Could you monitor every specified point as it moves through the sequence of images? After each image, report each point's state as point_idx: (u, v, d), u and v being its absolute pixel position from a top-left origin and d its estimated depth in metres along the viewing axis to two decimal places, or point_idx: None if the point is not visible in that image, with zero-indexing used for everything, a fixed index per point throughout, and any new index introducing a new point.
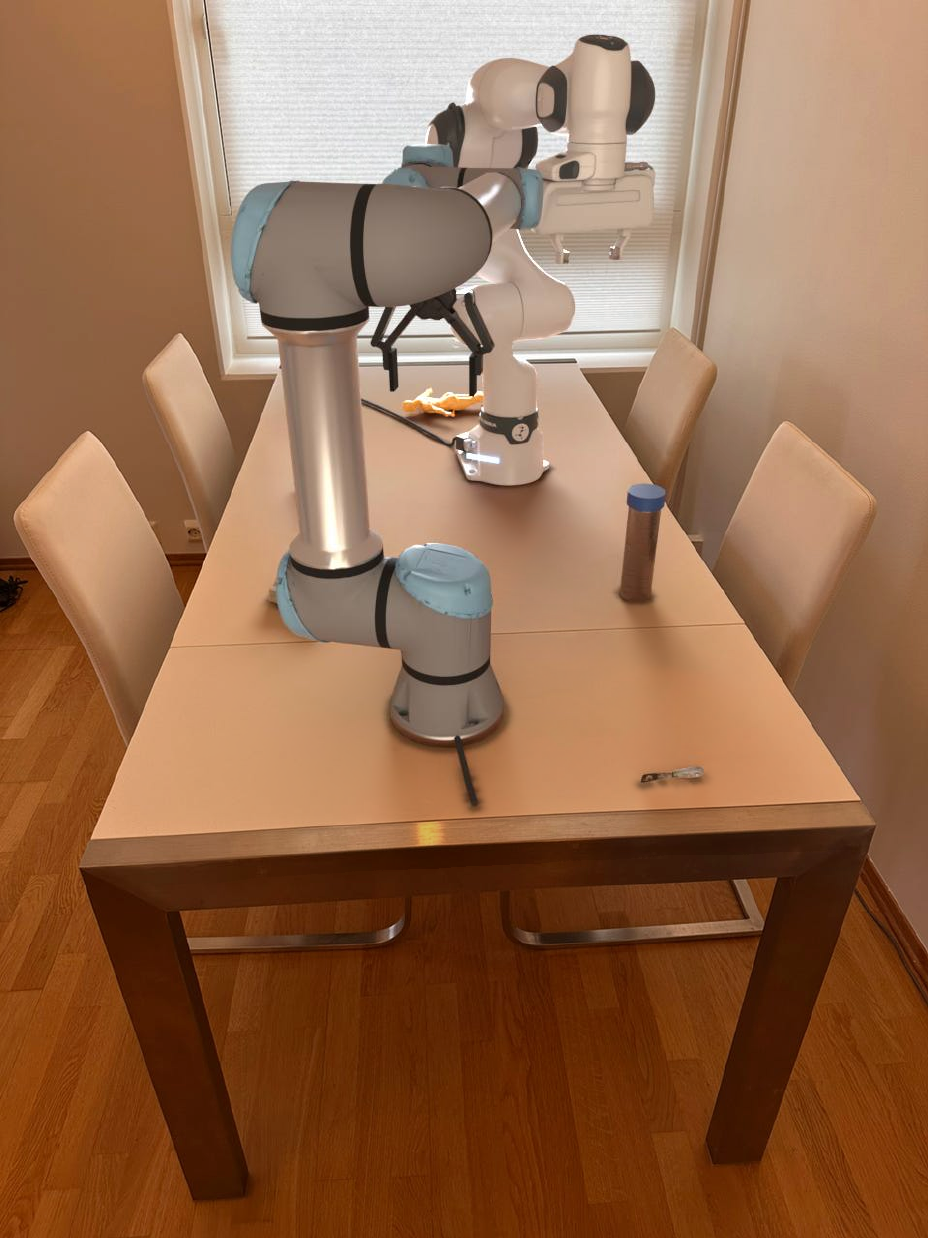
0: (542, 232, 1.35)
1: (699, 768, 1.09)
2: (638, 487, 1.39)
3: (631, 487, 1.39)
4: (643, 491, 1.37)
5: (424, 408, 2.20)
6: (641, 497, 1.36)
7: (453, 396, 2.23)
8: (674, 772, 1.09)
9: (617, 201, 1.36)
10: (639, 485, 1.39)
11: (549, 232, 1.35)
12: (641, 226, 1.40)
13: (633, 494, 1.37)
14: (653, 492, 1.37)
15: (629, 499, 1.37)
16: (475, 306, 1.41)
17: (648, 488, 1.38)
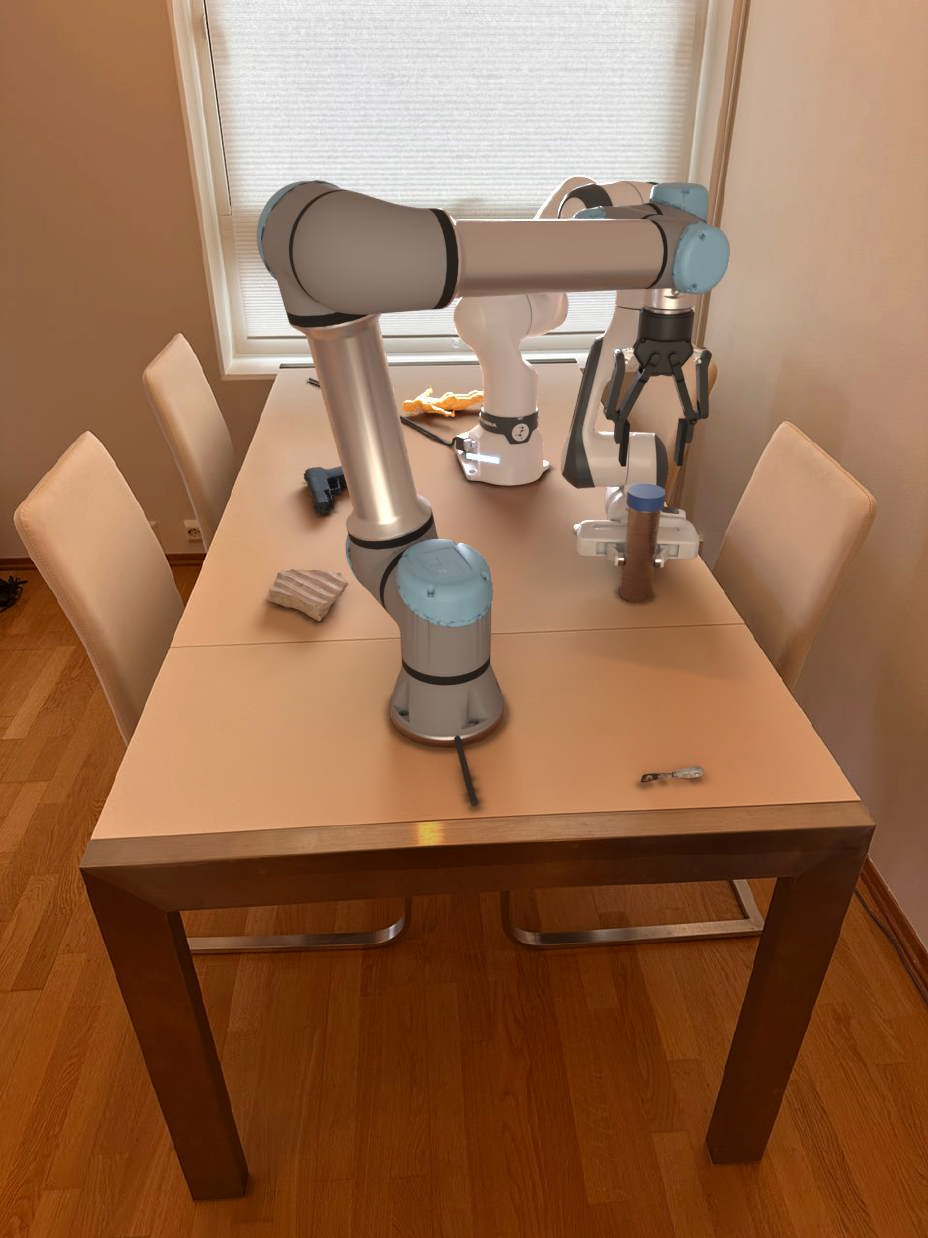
0: (691, 559, 1.48)
1: (699, 768, 1.09)
2: (638, 487, 1.39)
3: (631, 487, 1.39)
4: (643, 491, 1.37)
5: (424, 408, 2.20)
6: (641, 497, 1.36)
7: (453, 396, 2.23)
8: (674, 772, 1.09)
9: None
10: (639, 485, 1.39)
11: (684, 559, 1.48)
12: None
13: (633, 494, 1.37)
14: (653, 492, 1.37)
15: (629, 499, 1.37)
16: (615, 368, 1.27)
17: (648, 488, 1.38)
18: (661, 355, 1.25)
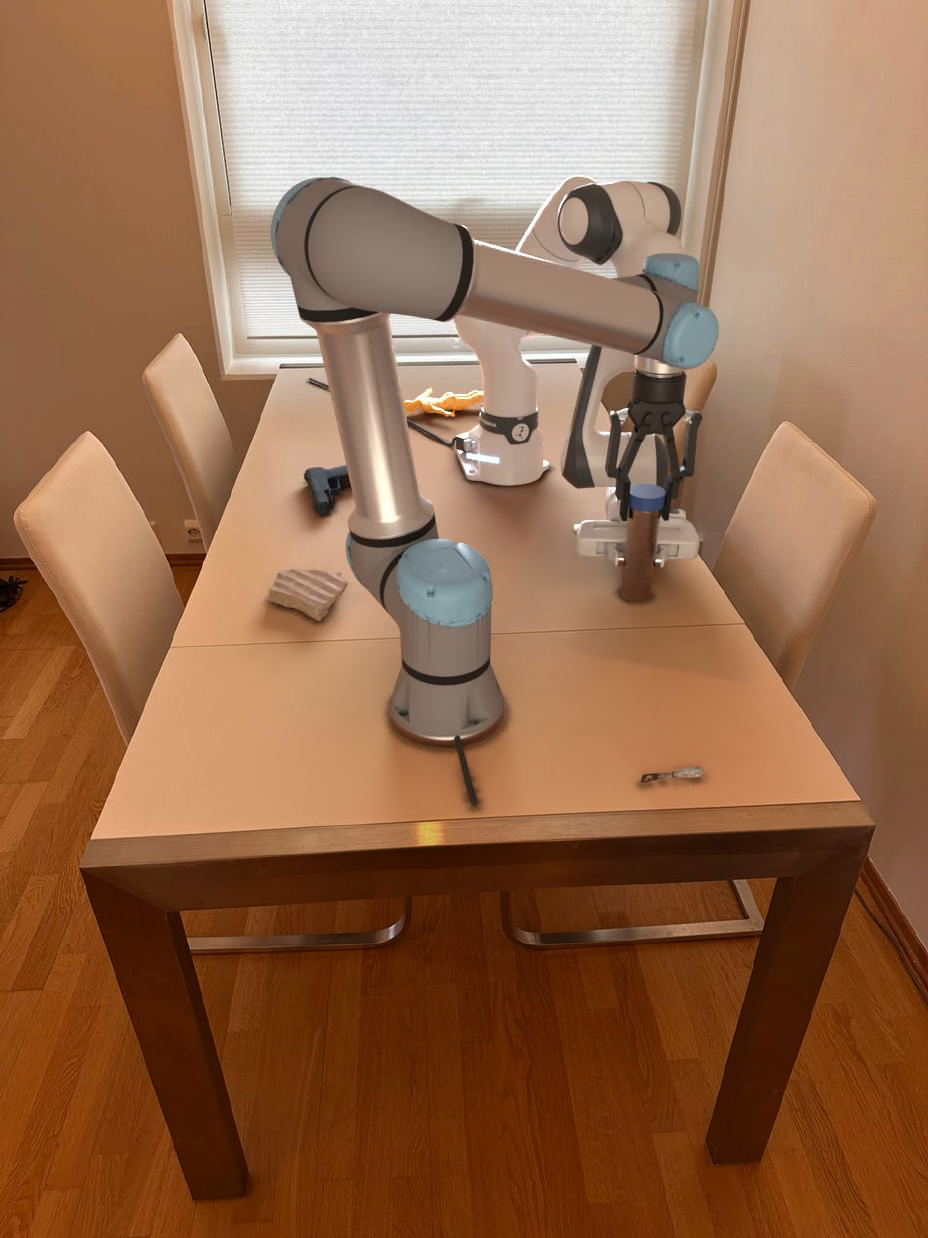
0: None
1: (699, 768, 1.09)
2: (638, 487, 1.39)
3: (631, 487, 1.39)
4: (643, 491, 1.37)
5: (424, 408, 2.20)
6: (641, 497, 1.36)
7: (453, 396, 2.23)
8: (674, 772, 1.09)
9: None
10: (639, 485, 1.39)
11: (684, 559, 1.48)
12: None
13: (633, 494, 1.37)
14: (653, 492, 1.37)
15: (629, 499, 1.37)
16: (612, 429, 1.32)
17: (648, 488, 1.38)
18: (654, 415, 1.30)
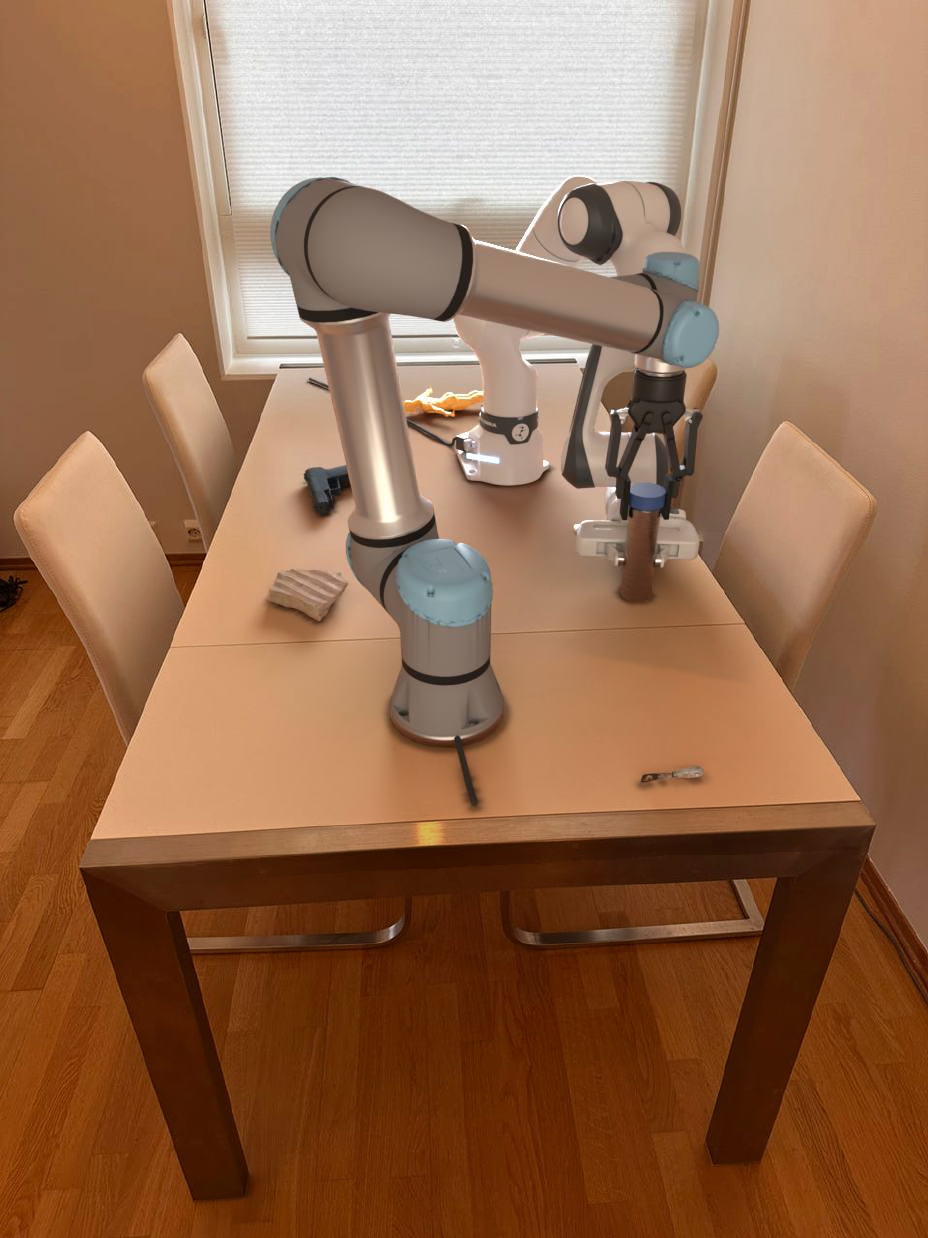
0: None
1: (699, 768, 1.09)
2: (643, 494, 1.36)
3: (647, 496, 1.35)
4: (650, 491, 1.37)
5: (424, 408, 2.20)
6: (664, 490, 1.37)
7: (453, 396, 2.23)
8: (674, 772, 1.09)
9: None
10: (638, 494, 1.36)
11: (684, 559, 1.48)
12: None
13: (662, 493, 1.36)
14: (646, 487, 1.38)
15: (661, 501, 1.36)
16: (612, 428, 1.32)
17: (640, 490, 1.38)
18: (654, 414, 1.30)
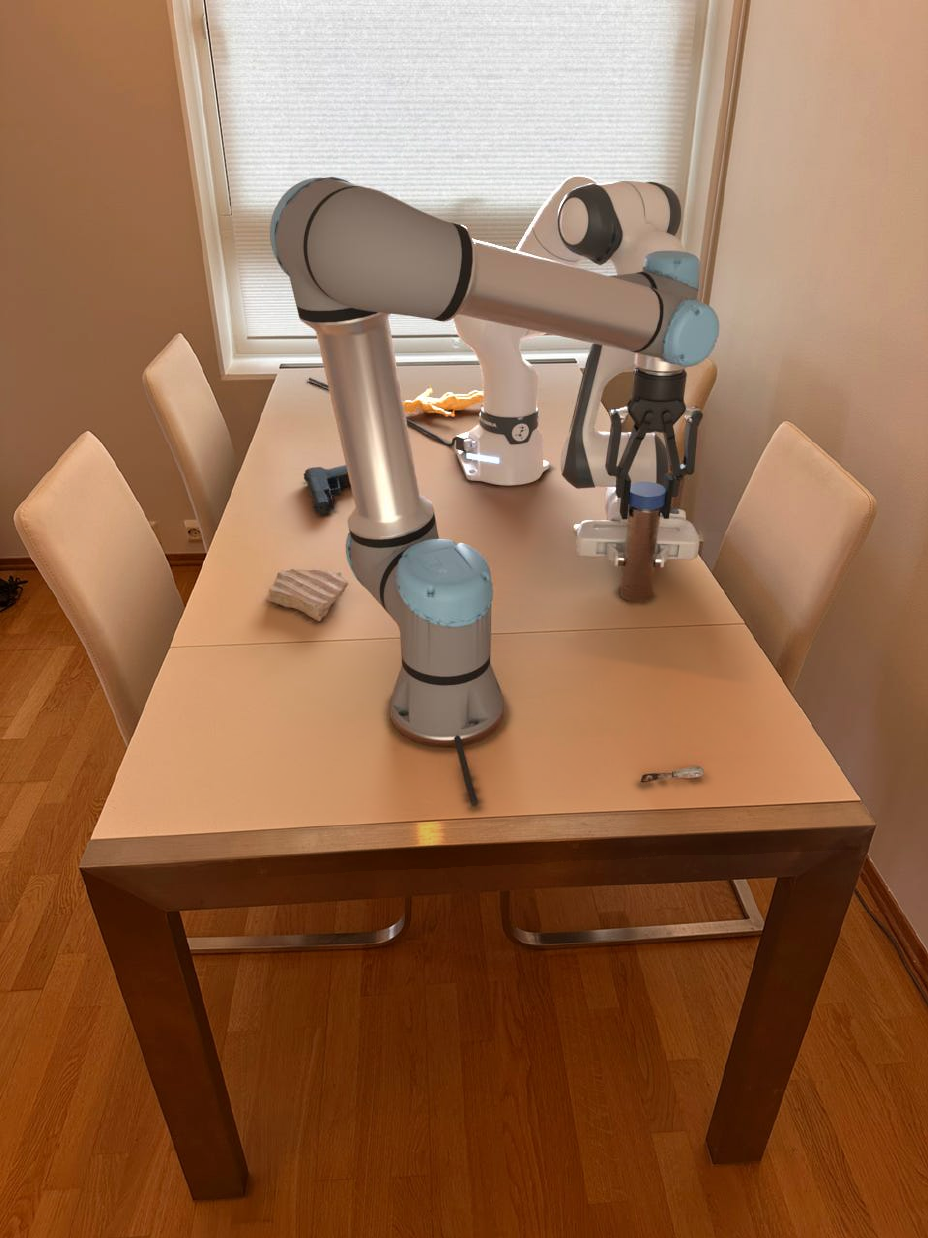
0: None
1: (699, 768, 1.09)
2: (658, 488, 1.37)
3: (661, 486, 1.38)
4: (647, 487, 1.38)
5: (424, 408, 2.20)
6: (637, 482, 1.40)
7: (453, 396, 2.23)
8: (674, 772, 1.09)
9: None
10: (661, 490, 1.37)
11: (684, 559, 1.48)
12: None
13: (646, 482, 1.40)
14: (640, 489, 1.37)
15: None
16: (612, 427, 1.32)
17: (651, 491, 1.37)
18: (655, 413, 1.30)
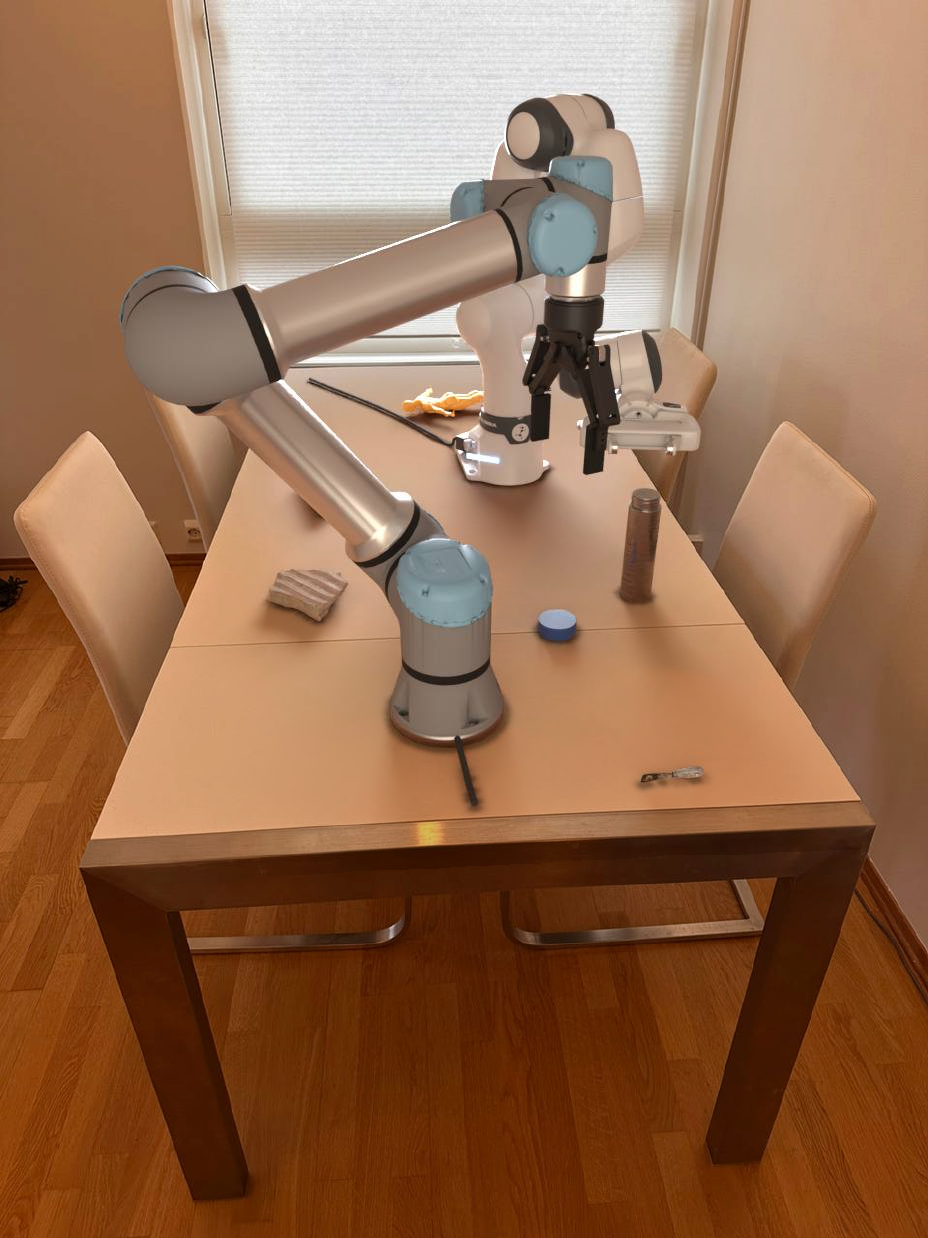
0: (693, 450, 1.51)
1: (699, 768, 1.09)
2: (551, 623, 1.36)
3: (553, 627, 1.35)
4: (559, 620, 1.37)
5: (424, 408, 2.20)
6: (574, 621, 1.36)
7: (453, 396, 2.23)
8: (674, 772, 1.09)
9: None
10: (545, 623, 1.36)
11: (686, 450, 1.51)
12: None
13: (570, 625, 1.35)
14: (559, 615, 1.38)
15: (567, 632, 1.36)
16: (604, 366, 1.10)
17: (550, 618, 1.37)
18: None
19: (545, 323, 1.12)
